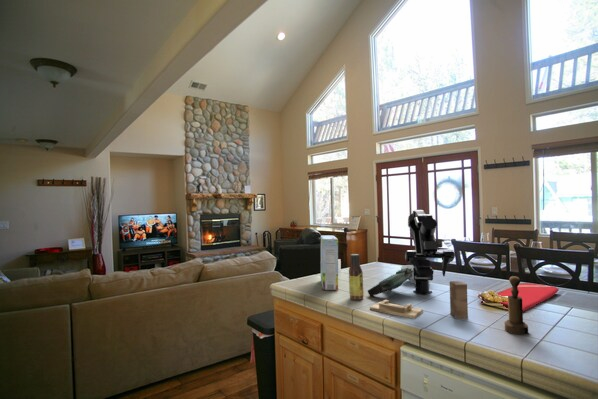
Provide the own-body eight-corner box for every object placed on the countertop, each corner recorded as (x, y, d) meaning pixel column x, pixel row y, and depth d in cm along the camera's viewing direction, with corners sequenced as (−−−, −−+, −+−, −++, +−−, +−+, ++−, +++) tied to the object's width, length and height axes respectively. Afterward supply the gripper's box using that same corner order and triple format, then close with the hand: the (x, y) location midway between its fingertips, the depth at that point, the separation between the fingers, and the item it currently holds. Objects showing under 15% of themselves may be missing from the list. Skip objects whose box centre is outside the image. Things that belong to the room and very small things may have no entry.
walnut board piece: (450, 314, 126) (449, 281, 126) (460, 313, 126) (459, 281, 127) (457, 318, 121) (456, 284, 121) (467, 318, 122) (466, 284, 122)
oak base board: (380, 303, 141) (379, 296, 141) (422, 311, 130) (422, 304, 130) (370, 309, 134) (369, 302, 134) (414, 318, 122) (414, 310, 122)
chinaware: (403, 285, 172) (402, 270, 172) (399, 278, 186) (399, 264, 186) (433, 285, 169) (433, 270, 169) (427, 279, 184) (426, 265, 184)
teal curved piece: (380, 279, 168) (414, 262, 159) (386, 290, 167) (421, 275, 157) (364, 288, 152) (401, 270, 142) (371, 301, 150) (409, 284, 140)
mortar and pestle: (500, 327, 112) (498, 274, 112) (517, 326, 112) (516, 273, 113) (514, 335, 105) (512, 278, 105) (533, 334, 106) (531, 278, 106)
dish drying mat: (479, 305, 138) (479, 296, 138) (521, 288, 162) (520, 280, 162) (522, 314, 125) (521, 305, 125) (560, 295, 149) (560, 287, 149)
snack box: (340, 290, 164) (338, 238, 164) (322, 291, 164) (321, 239, 164) (335, 280, 185) (334, 234, 186) (320, 280, 186) (319, 234, 186)
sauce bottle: (363, 300, 146) (362, 255, 146) (349, 300, 147) (348, 255, 147) (363, 296, 152) (361, 253, 153) (349, 296, 153) (348, 253, 154)
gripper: (405, 232, 136) (409, 267, 128) (454, 231, 132) (461, 268, 124) (403, 243, 145) (406, 278, 137) (449, 243, 141) (455, 279, 133)
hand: (431, 275), depth 132 cm, fingers open, 9 cm apart
